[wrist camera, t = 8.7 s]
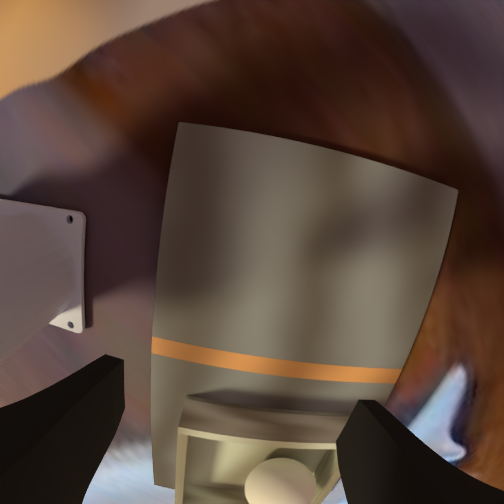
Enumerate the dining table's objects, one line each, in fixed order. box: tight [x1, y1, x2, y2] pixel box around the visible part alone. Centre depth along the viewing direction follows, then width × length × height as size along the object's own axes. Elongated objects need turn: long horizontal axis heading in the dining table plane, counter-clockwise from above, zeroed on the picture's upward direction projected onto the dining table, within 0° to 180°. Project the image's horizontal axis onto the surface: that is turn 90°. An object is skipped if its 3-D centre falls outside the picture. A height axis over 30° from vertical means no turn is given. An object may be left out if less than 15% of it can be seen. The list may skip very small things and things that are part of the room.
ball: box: [245, 458, 316, 504], centre depth 17 cm, size 5×5×5 cm
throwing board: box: [151, 122, 458, 504], centre depth 17 cm, size 16×29×4 cm, turn 170°
